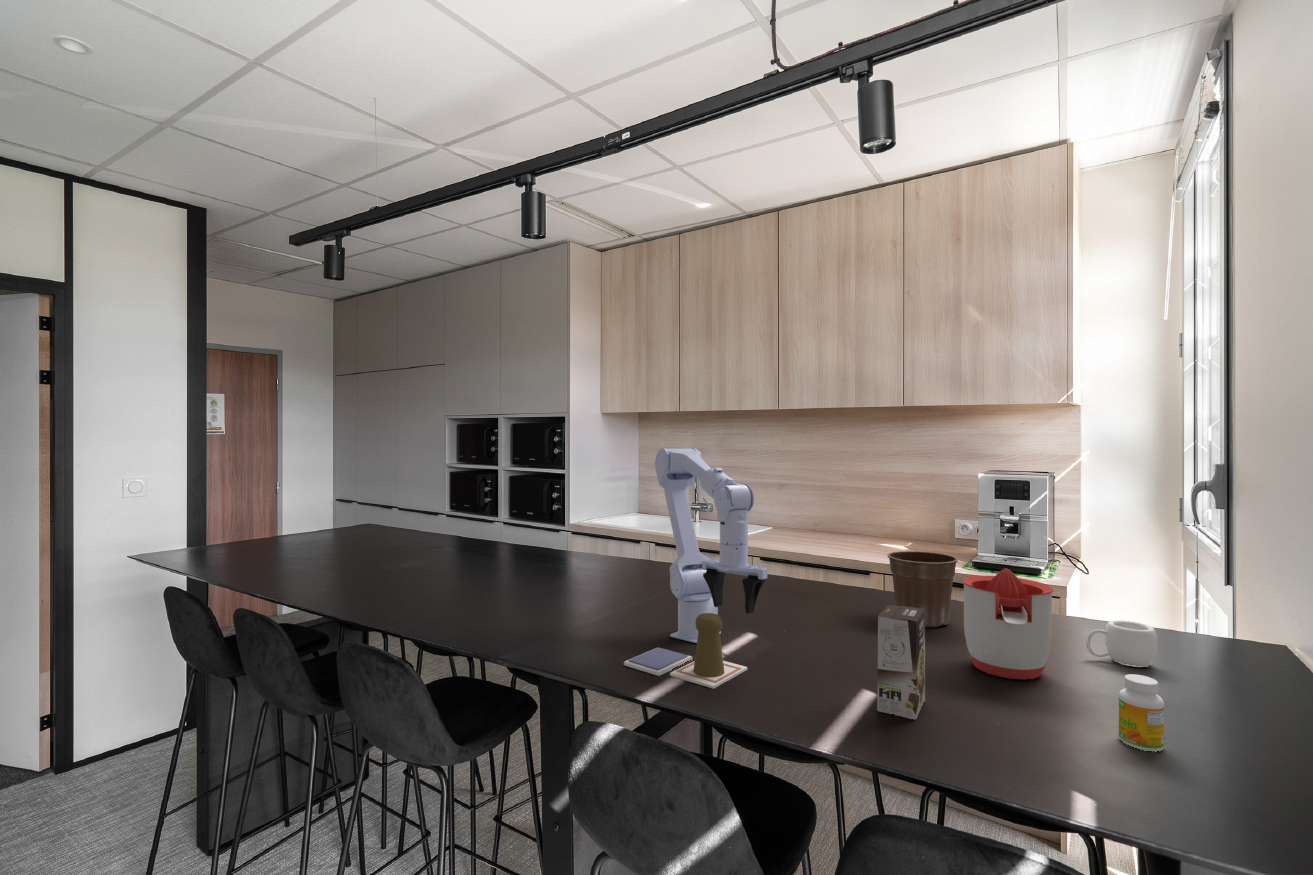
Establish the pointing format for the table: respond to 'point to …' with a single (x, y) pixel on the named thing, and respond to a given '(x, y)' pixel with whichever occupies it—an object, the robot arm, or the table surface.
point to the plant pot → (924, 583)
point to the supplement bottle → (1141, 714)
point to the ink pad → (657, 661)
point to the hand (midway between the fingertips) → (733, 609)
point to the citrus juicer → (1008, 624)
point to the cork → (708, 646)
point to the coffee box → (901, 661)
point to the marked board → (711, 682)
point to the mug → (1128, 642)
